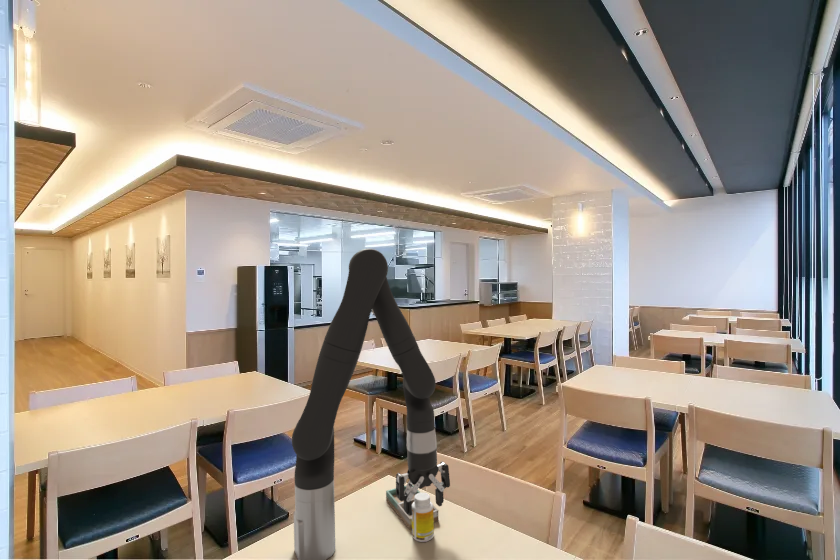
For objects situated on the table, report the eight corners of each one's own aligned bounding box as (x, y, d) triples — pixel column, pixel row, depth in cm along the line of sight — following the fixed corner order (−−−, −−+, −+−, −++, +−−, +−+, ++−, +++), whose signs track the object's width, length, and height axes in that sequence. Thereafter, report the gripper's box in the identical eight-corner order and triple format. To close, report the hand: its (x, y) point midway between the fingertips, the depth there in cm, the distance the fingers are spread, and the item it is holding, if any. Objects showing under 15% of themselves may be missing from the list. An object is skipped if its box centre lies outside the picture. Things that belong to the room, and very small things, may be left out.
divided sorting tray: (410, 529, 110) (409, 519, 110) (386, 500, 124) (386, 490, 124) (438, 520, 113) (438, 510, 113) (412, 493, 128) (412, 483, 128)
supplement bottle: (438, 536, 106) (437, 496, 106) (421, 546, 103) (420, 504, 103) (424, 527, 111) (423, 488, 111) (407, 535, 107) (406, 495, 107)
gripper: (402, 458, 100) (404, 525, 100) (453, 445, 106) (456, 508, 106) (390, 446, 107) (392, 510, 107) (439, 435, 113) (441, 495, 113)
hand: (424, 509), depth 107 cm, fingers open, 8 cm apart
